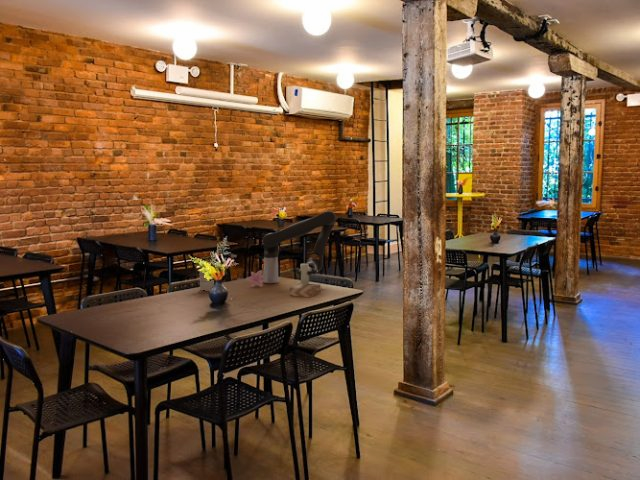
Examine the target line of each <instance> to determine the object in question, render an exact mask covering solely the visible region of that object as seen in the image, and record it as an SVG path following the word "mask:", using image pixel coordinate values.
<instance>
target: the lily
mask: <svg viewBox="0 0 640 480" xmlns="http://www.w3.org/2000/svg"><path fill="white" fill-rule="evenodd" d="M262 275H263V269H260V270H258V271H257V272H256V273H255V272H254V271H251V275H250V276H248V277H246V278H245V280H246V281H249V282H251V287H255V286H256V285H257V286H259V287H260V288H263V280H265V279H266V278H265V277H263V276H262Z"/></svg>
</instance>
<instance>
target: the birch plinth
mask: <svg viewBox="0 0 640 480" xmlns="http://www.w3.org/2000/svg"><path fill="white" fill-rule="evenodd" d="M288 291H289V296H290V295H293V297H301V296H303V297H305V298H312V297H314V296H316V295H319V294H320V293H321V284H317V283H315V284H314V283H309V284H307V285H302V284H301V282H298V283H297V284H294V285H292V286H290V287H289V290H288Z"/></svg>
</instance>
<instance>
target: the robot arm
mask: <svg viewBox="0 0 640 480" xmlns="http://www.w3.org/2000/svg"><path fill="white" fill-rule="evenodd" d="M336 221H337V216H336V214H335V213H334V212H333V211H331V210H326V211H323V212H322V213H319V214H317V215H315V216H313V217H310V218H307V219H303V220H301V221H298V222H296V223H293V224H291V225H289V226H287V227H285V228H283V229H281V230H278V231H276V232H269V233H266V234H264V236H263V238H262V244H263V246H264V251H263V266H264V268H263V269H262V275H263V276H262V277H265V278H266V279H265V280H262V283H265V284H277V283H279V261H278V259H279V256H278V255H279V254H278V253H279V244H281V243H283V242H285V241H289V240H294V239H295V238H299V237H302V236H305V235H307V234H309V233H310V232H313V231H314V230H316V229H317V228H319V227H321V231H320V233H319V235H318V237H317V240H316V242H315V245H314V248H313V251H312V252H313V253H312V254H314V255H315V256H317V257H318V258H315V257H309V258H308V259H307V261H306V263H305V264H309V271H308V275H309V276H311V275H315V274H319V271H321V270H322V269H323V268H324V254H325V251H326V248H327V244H328V241H329V237H330V234H331V233H332V229H333V228H334V225H335V223H336ZM296 274H297V275H299V276H301V268H299V267H297V268H296Z"/></svg>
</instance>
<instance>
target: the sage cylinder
mask: <svg viewBox="0 0 640 480" xmlns="http://www.w3.org/2000/svg"><path fill="white" fill-rule="evenodd" d="M299 269H301V274H300V283H301V284H302V285H307V284H310V275H308V271H309V264H306V263H300V268H299Z"/></svg>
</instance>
